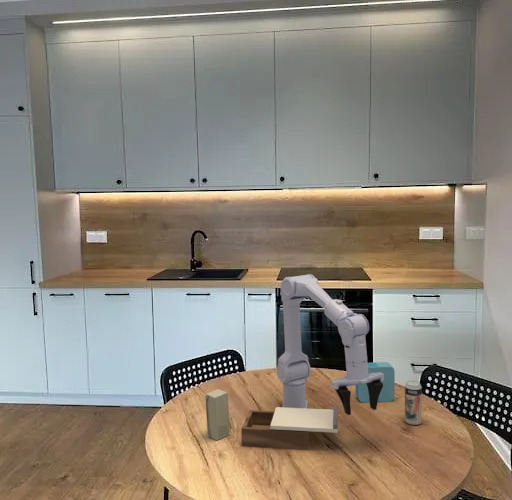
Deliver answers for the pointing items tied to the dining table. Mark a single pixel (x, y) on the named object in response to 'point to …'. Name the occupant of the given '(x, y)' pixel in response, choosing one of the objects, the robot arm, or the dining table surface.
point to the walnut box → (271, 433)
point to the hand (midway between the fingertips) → (360, 411)
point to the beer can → (413, 402)
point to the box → (217, 414)
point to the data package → (388, 383)
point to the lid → (305, 419)
